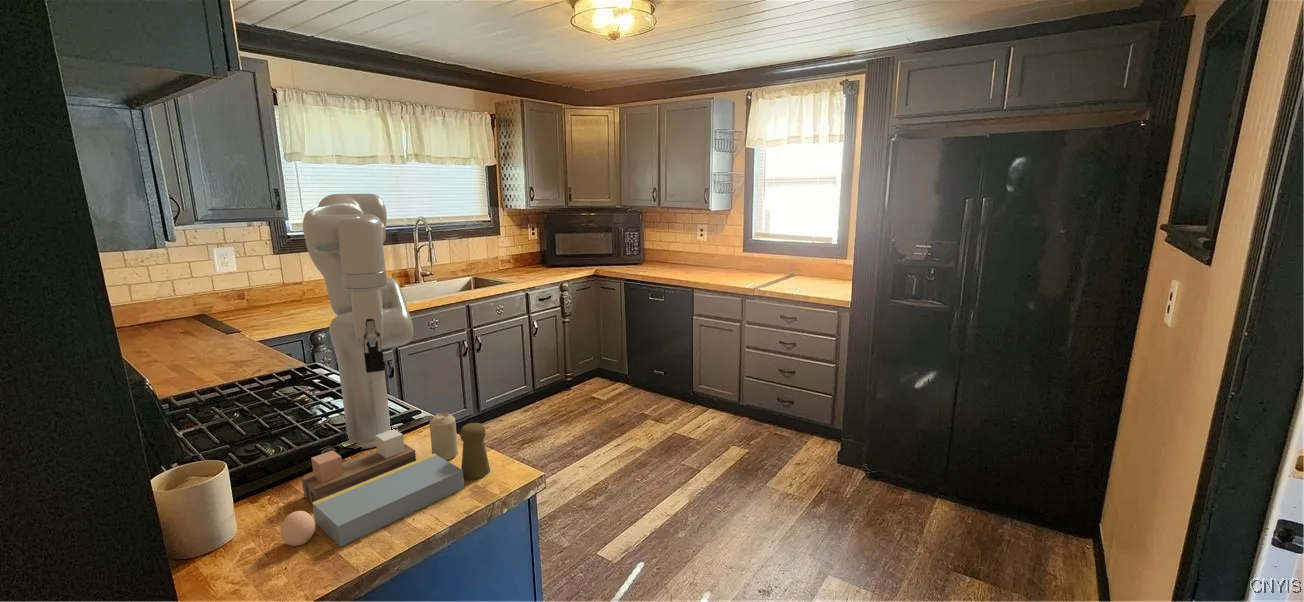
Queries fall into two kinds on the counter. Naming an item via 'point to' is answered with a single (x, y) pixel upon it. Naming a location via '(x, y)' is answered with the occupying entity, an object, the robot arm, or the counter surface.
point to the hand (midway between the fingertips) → (374, 364)
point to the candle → (443, 436)
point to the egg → (297, 528)
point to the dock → (386, 498)
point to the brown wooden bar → (356, 473)
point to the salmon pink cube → (327, 466)
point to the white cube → (390, 443)
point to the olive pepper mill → (474, 452)
